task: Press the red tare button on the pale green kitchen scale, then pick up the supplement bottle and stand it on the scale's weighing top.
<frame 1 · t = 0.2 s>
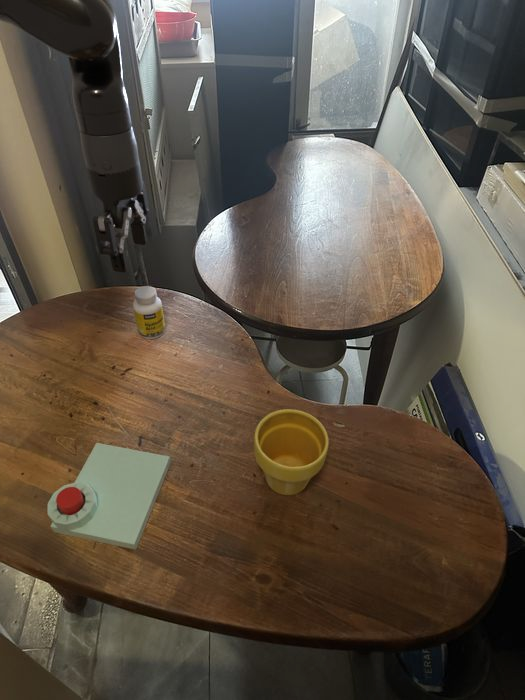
hand: (131, 256, 80), 20 cm above the table, tool pointing down, fingers open, 8 cm apart
flower pot: (287, 476, 73), on the table
tare button: (70, 500, 65), point 4 cm above the table, slide at 0.1 cm
scale: (115, 495, 70), on the table
supplement bottle: (152, 332, 97), on the table
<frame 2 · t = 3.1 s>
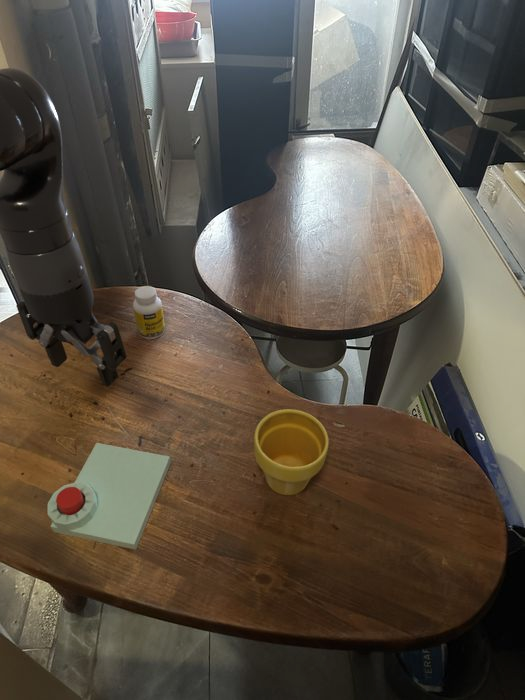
hand: (85, 372, 66), 16 cm above the table, tool pointing down, fingers open, 8 cm apart
nothing on the table moved.
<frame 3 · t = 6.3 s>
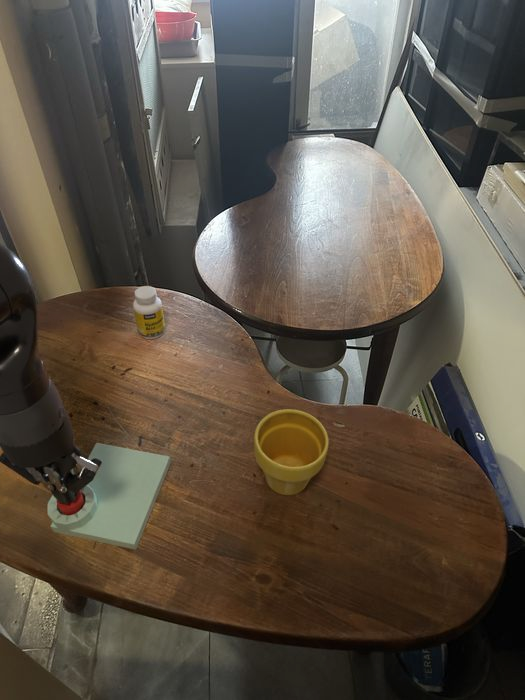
hand: (68, 498, 64), 5 cm above the table, tool pointing down, fingers closed
tare button: (70, 501, 65), point 4 cm above the table, slide at 0.0 cm, touching gripper
everything else where it was.
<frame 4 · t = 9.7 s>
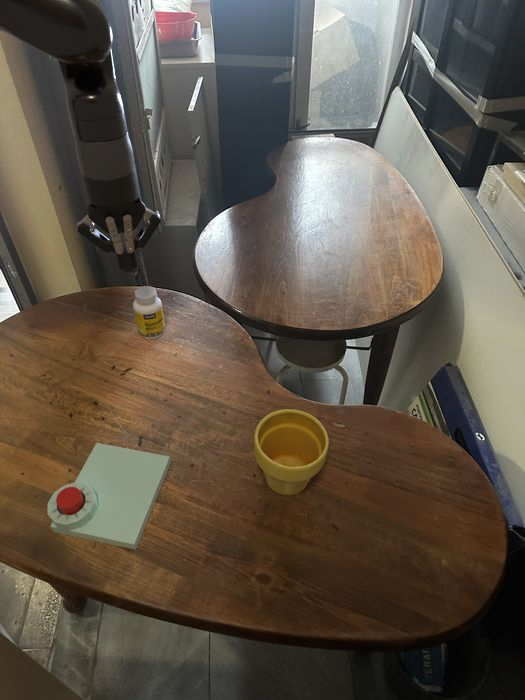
hand: (129, 269, 80), 19 cm above the table, tool pointing down, fingers closed
tare button: (70, 500, 65), point 4 cm above the table, slide at 0.1 cm
everything else where it was.
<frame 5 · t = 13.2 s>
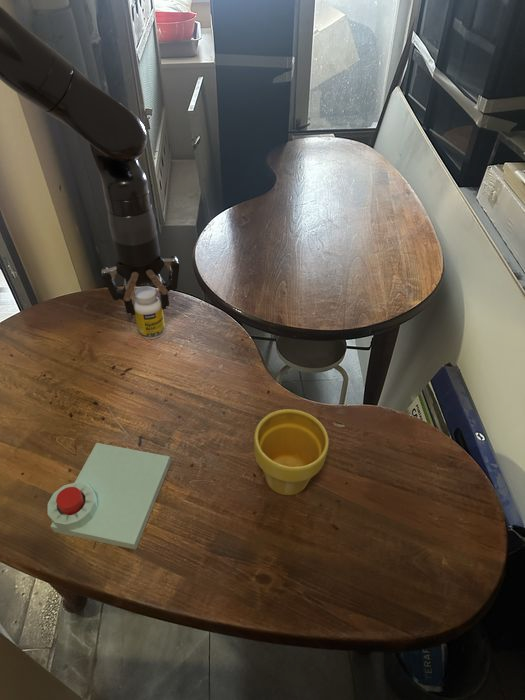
hand: (148, 309, 93), 6 cm above the table, tool pointing down, fingers closed on supplement bottle, 5 cm apart
supplement bottle: (152, 332, 97), on the table, touching gripper
everything else where it was.
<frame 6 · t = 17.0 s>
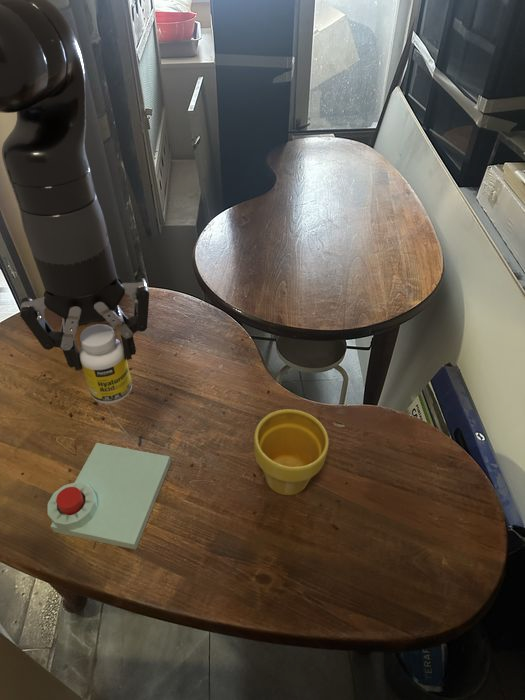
hand: (104, 360, 60), 21 cm above the table, tool pointing down, fingers closed on supplement bottle, 5 cm apart
supplement bottle: (112, 390, 64), point 16 cm above the table, touching gripper
everything else where it was.
when the fingers open (7 cm above the table, at t = 21.3 s): supplement bottle stays where it is, resting on scale.
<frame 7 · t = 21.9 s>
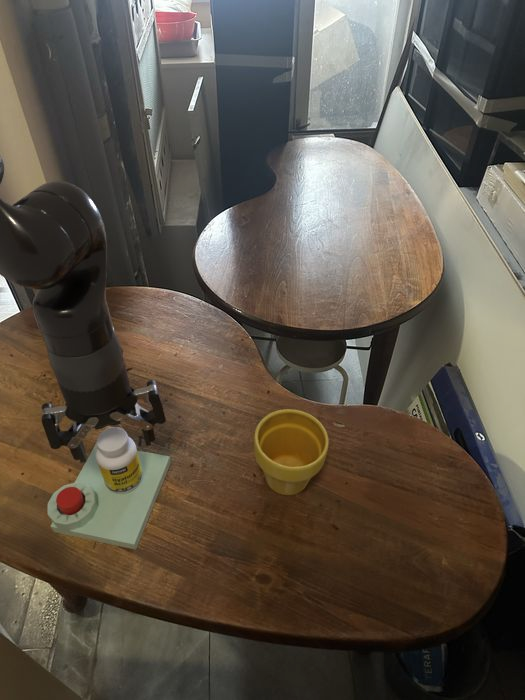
hand: (116, 448, 65), 9 cm above the table, tool pointing down, fingers open, 8 cm apart
supplement bottle: (124, 479, 70), point 2 cm above the table, touching scale
everything else where it was.
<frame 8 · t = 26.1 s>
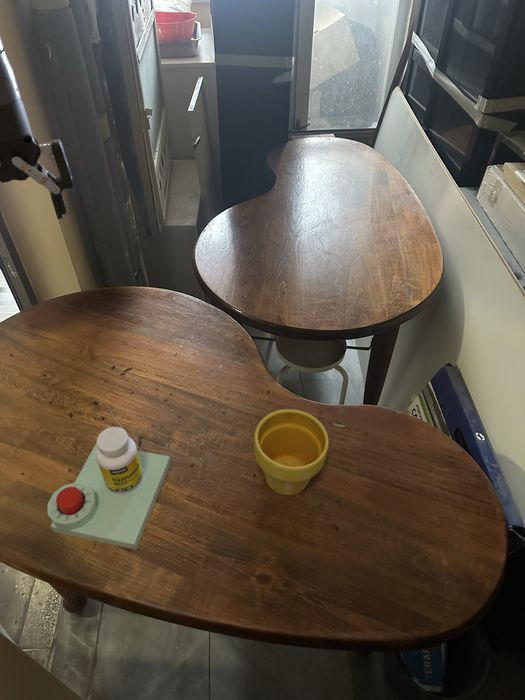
hand: (28, 220, 68), 30 cm above the table, tool pointing down, fingers open, 8 cm apart
nothing on the table moved.
at the end: tare button pushed in 0.8 cm at the most during the clip, back to where it started at the end; supplement bottle inside the target area on the scale (2.1 cm from its centre), point 1.5 cm above the scale's base; supplement bottle tilted 0° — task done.
